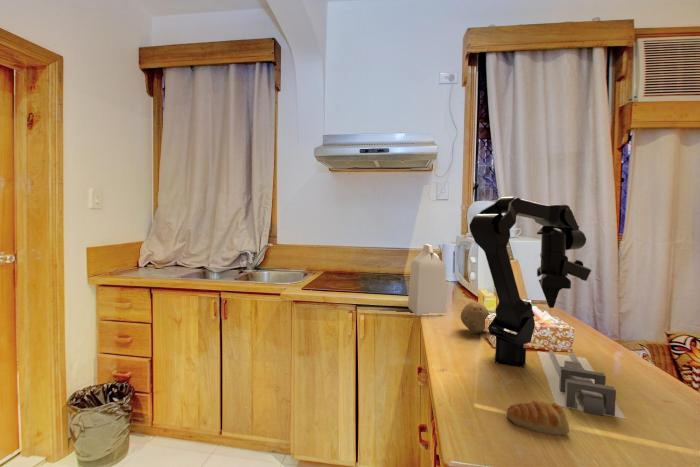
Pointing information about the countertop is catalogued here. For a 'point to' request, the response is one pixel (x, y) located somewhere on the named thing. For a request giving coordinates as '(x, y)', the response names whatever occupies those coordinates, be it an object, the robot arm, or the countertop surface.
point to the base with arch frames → (576, 382)
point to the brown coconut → (474, 316)
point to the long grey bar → (586, 393)
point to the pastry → (539, 417)
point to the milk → (427, 283)
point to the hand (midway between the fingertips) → (551, 307)
